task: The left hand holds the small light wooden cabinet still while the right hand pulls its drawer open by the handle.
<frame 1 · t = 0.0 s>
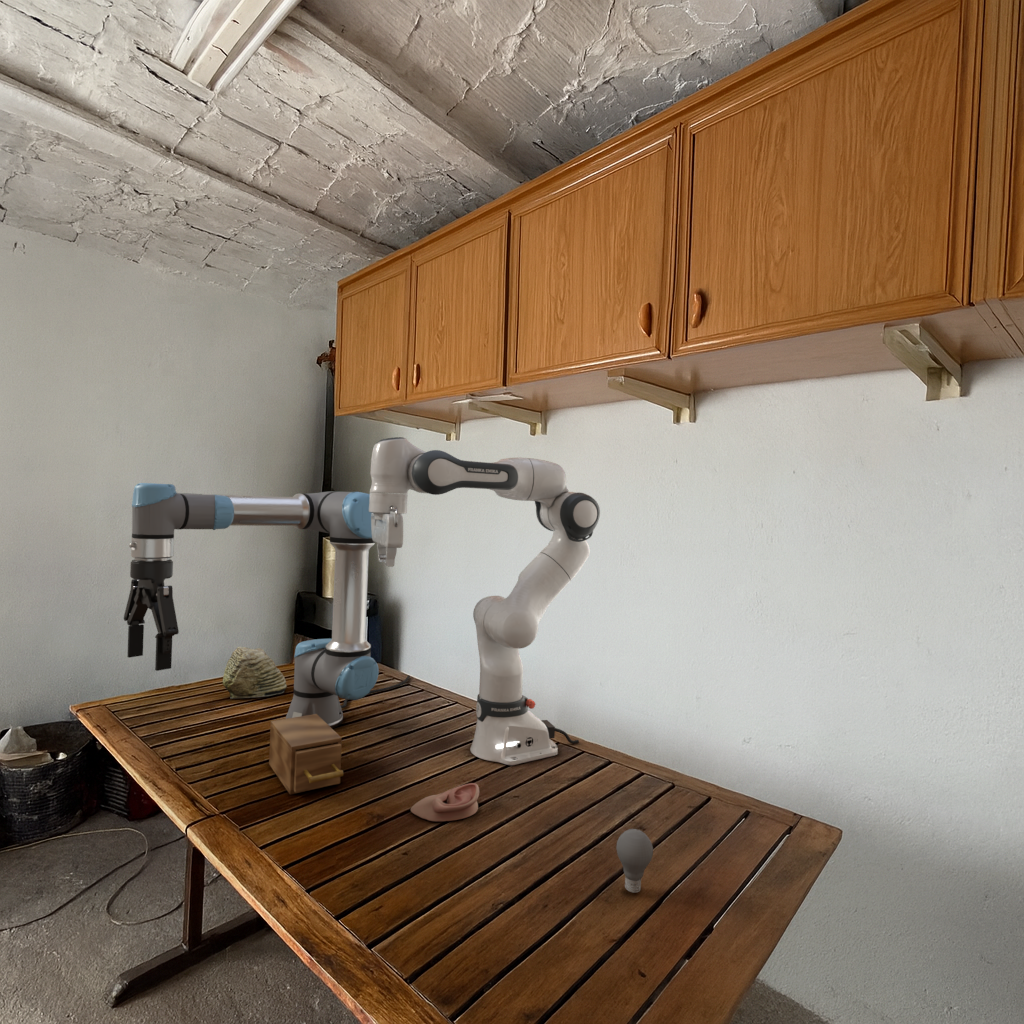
left hand: (148, 662, 129), 28 cm above the table, tool pointing down, fingers open, 13 cm apart
right hand: (385, 564, 150), 48 cm above the table, tool pointing down, fingers open, 8 cm apart
anatomical model: (445, 809, 131), on the table
drawer: (311, 759, 140), point 5 cm above the table, slide at 0.5 cm
light bulb: (632, 891, 106), on the table
cabinet: (303, 773, 144), on the table
fossil: (254, 694, 198), on the table
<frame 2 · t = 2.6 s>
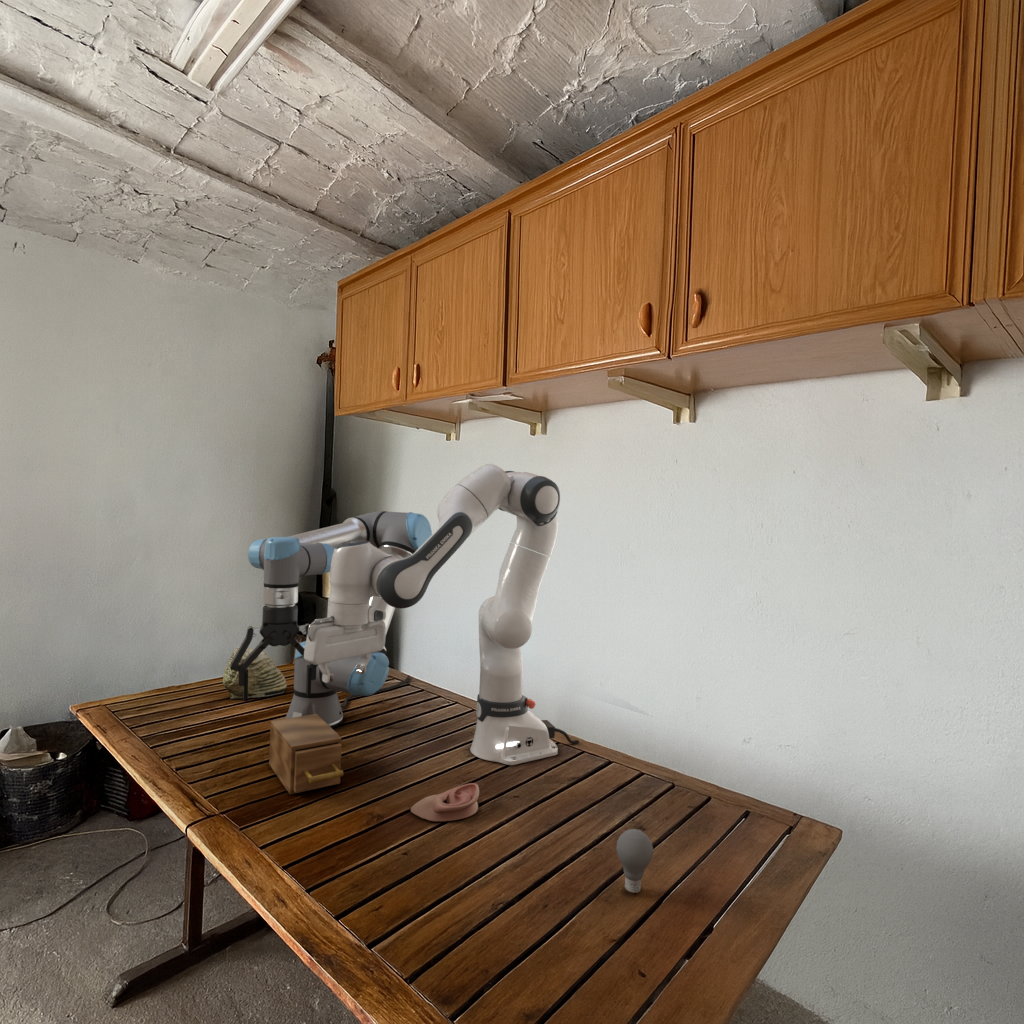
left hand: (277, 697, 145), 17 cm above the table, tool pointing down, fingers open, 13 cm apart
right hand: (344, 677, 138), 24 cm above the table, tool pointing down, fingers open, 8 cm apart
nothing on the table moved.
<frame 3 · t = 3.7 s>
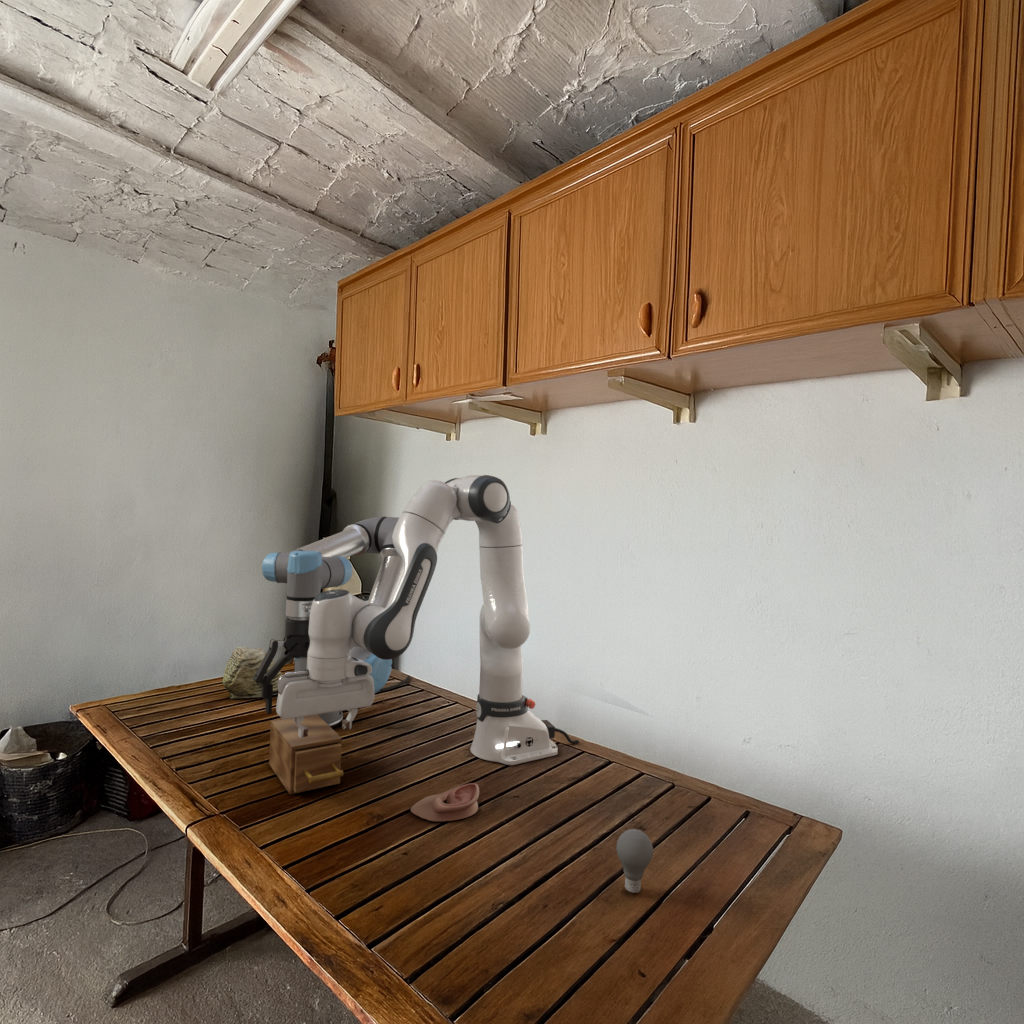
left hand: (298, 707, 148), 14 cm above the table, tool pointing down, fingers open, 13 cm apart
right hand: (325, 732, 134), 14 cm above the table, tool pointing down, fingers open, 8 cm apart
nothing on the table moved.
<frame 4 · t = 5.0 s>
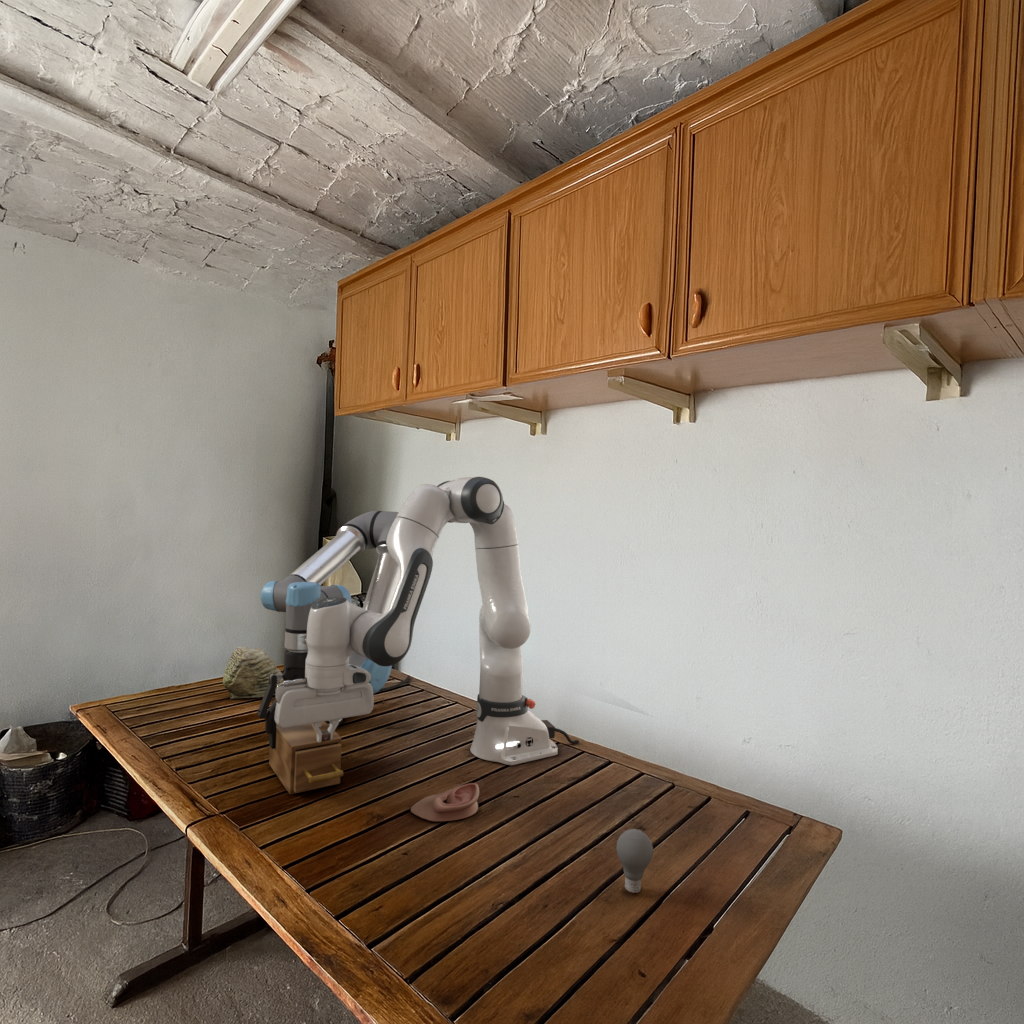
left hand: (297, 742, 148), 6 cm above the table, tool pointing down, fingers closed on cabinet, 11 cm apart
right hand: (324, 740, 133), 12 cm above the table, tool pointing down, fingers closed
cabinet: (303, 773, 144), on the table, touching left hand
everything else where it was.
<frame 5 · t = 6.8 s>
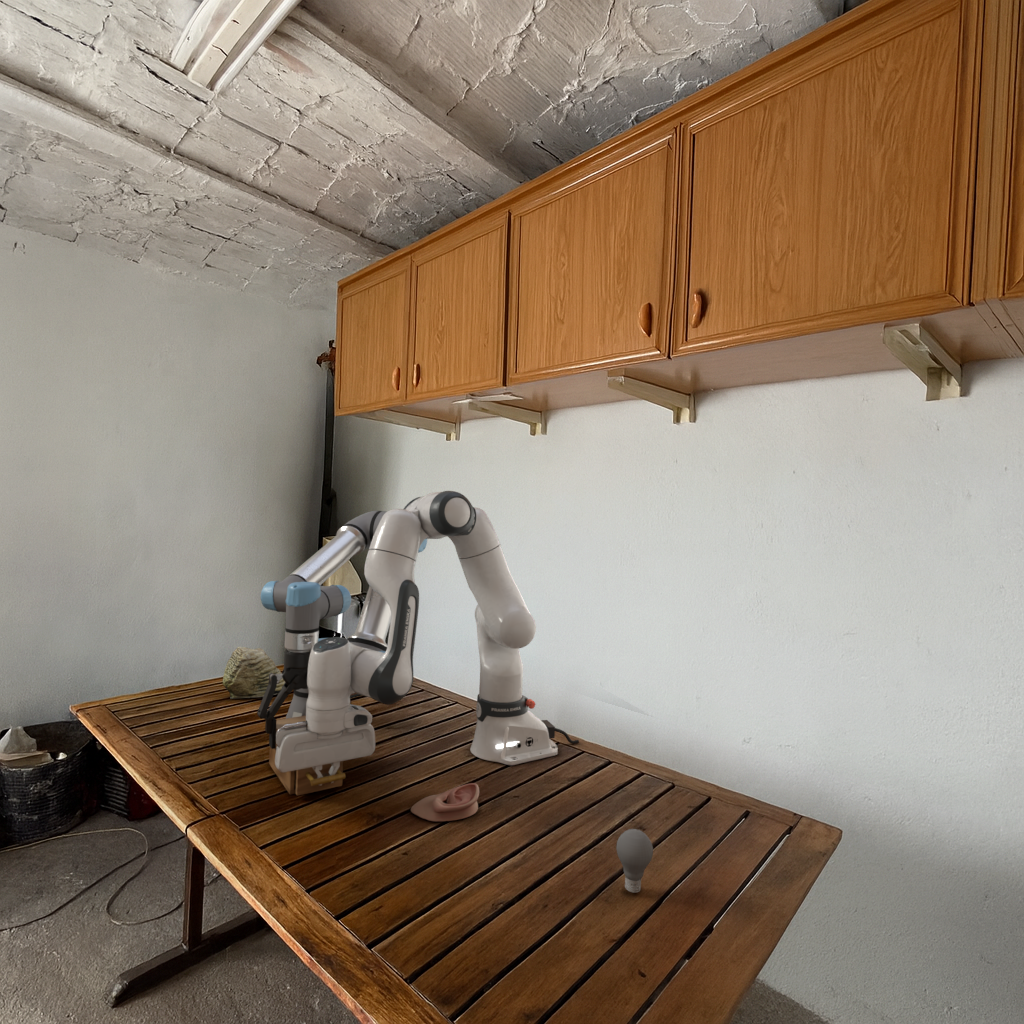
left hand: (297, 742, 148), 6 cm above the table, tool pointing down, fingers closed on cabinet, 11 cm apart
right hand: (325, 783, 132), 4 cm above the table, tool pointing down, fingers closed, pressing on drawer
drawer: (312, 761, 139), point 5 cm above the table, slide at 1.9 cm, touching right hand
cabinet: (303, 773, 144), on the table, touching left hand
everything else where it was.
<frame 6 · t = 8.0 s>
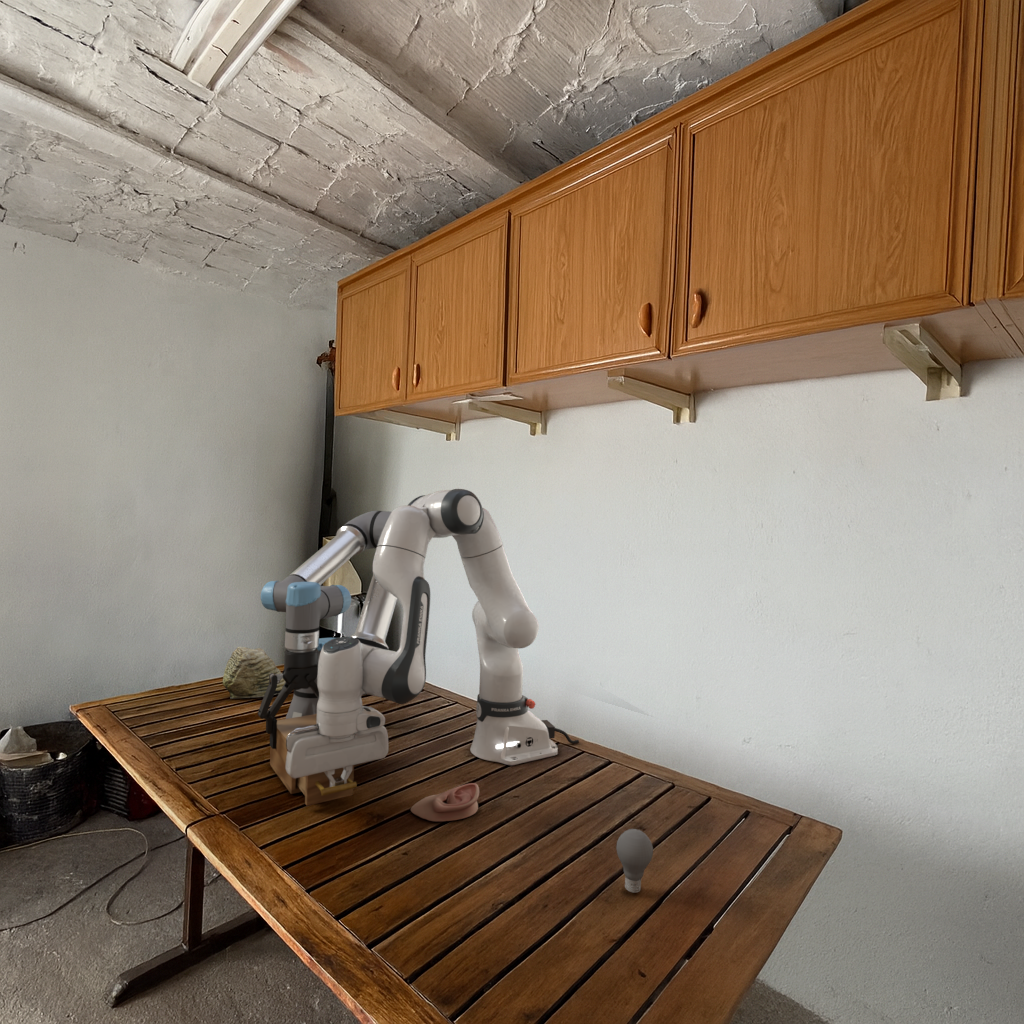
left hand: (298, 742, 148), 6 cm above the table, tool pointing down, fingers closed on cabinet, 11 cm apart
right hand: (338, 788, 127), 5 cm above the table, tool pointing down, fingers closed
drawer: (322, 770, 134), point 5 cm above the table, slide at 7.5 cm, touching right hand
cabinet: (304, 773, 144), on the table, touching left hand
everything else where it was.
when the left hand's fingers open (6 cm above the table, at t = 9.4 s): cabinet stays where it is, on the table.
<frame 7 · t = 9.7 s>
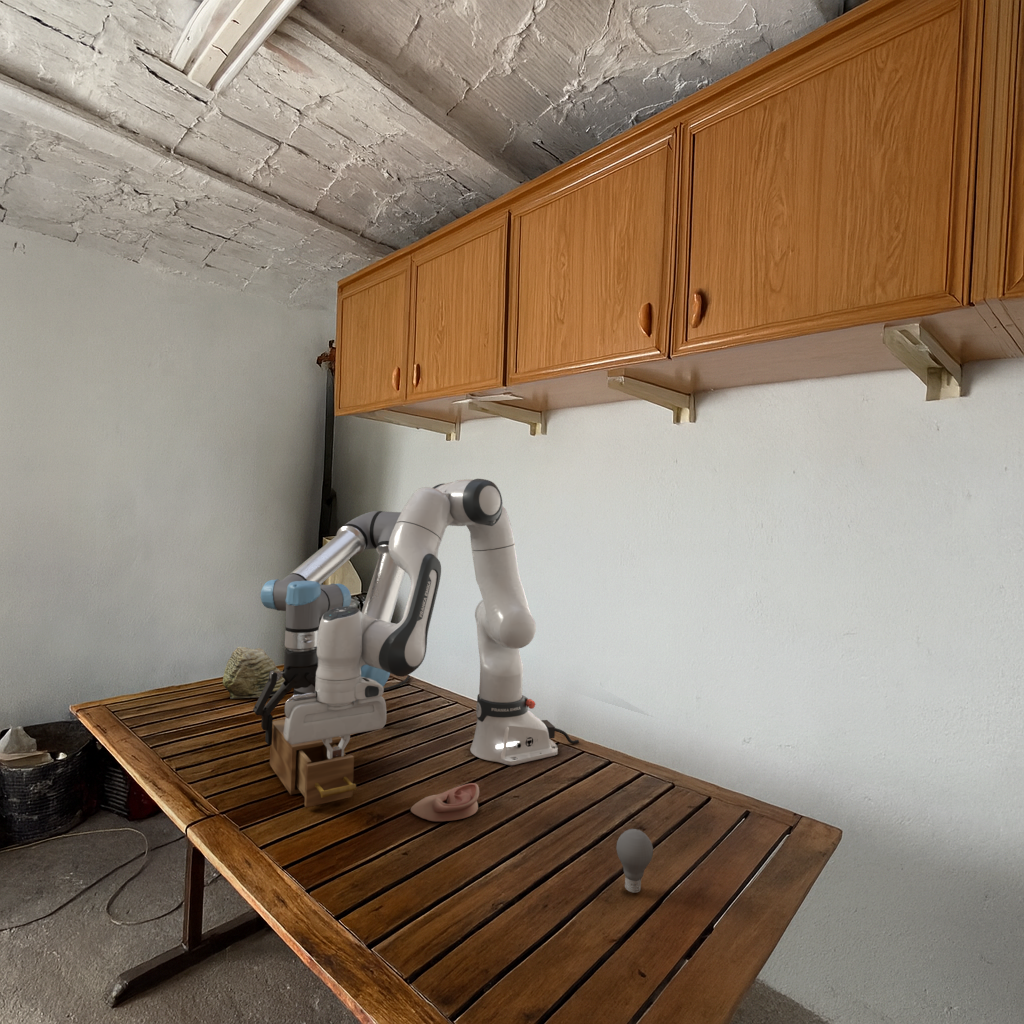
left hand: (298, 737, 149), 6 cm above the table, tool pointing down, fingers open, 13 cm apart
right hand: (335, 757, 127), 11 cm above the table, tool pointing down, fingers closed
drawer: (321, 771, 134), point 5 cm above the table, slide at 7.5 cm
cabinet: (304, 774, 144), on the table
everything else where it was.
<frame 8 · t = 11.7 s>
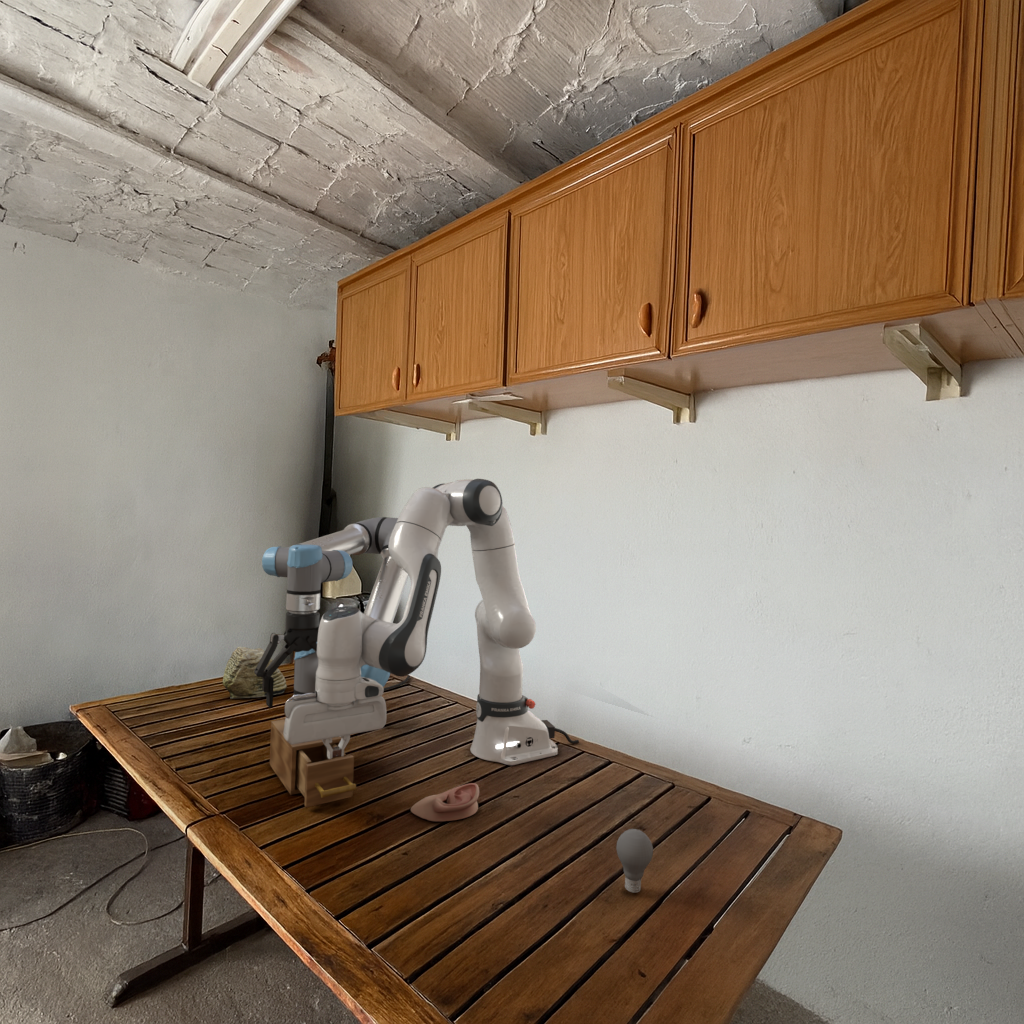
left hand: (299, 701, 148), 15 cm above the table, tool pointing down, fingers open, 13 cm apart
right hand: (335, 757, 127), 11 cm above the table, tool pointing down, fingers closed
nothing on the table moved.
at the end: drawer slide at 7.5 cm; cabinet tilted 0°; cabinet never tilted more than 1° during the clip; cabinet moved 0.2 cm from its start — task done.
